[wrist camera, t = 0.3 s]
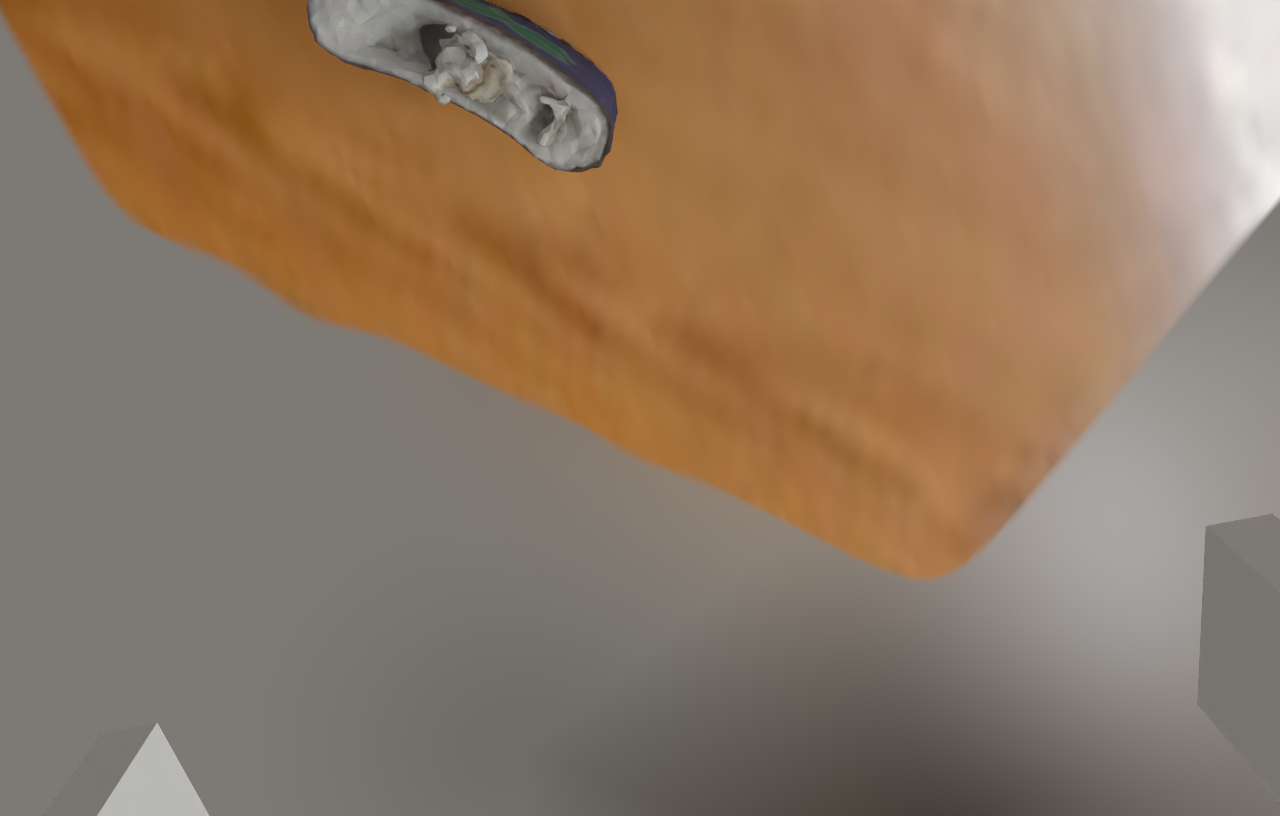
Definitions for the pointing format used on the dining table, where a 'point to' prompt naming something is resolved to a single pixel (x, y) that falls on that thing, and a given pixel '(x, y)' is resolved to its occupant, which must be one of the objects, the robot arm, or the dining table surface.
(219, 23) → the dining table surface
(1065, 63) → the dining table surface
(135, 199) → the dining table surface
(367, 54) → the flask
